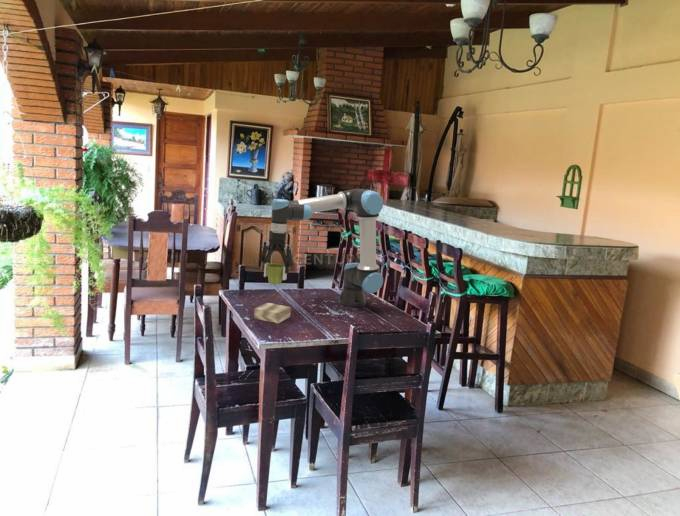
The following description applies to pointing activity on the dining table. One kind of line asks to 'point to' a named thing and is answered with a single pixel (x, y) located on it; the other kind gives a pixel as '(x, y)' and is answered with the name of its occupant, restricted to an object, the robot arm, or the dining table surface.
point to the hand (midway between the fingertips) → (275, 277)
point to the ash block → (272, 312)
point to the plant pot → (275, 273)
